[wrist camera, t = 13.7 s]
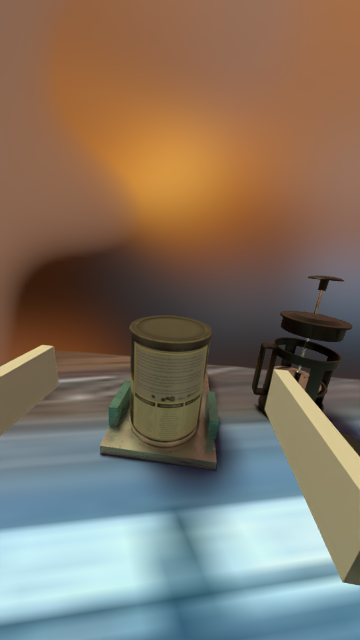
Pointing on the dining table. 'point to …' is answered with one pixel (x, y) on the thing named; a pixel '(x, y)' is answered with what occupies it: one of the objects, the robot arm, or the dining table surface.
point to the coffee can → (167, 377)
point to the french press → (304, 350)
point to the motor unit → (127, 444)
